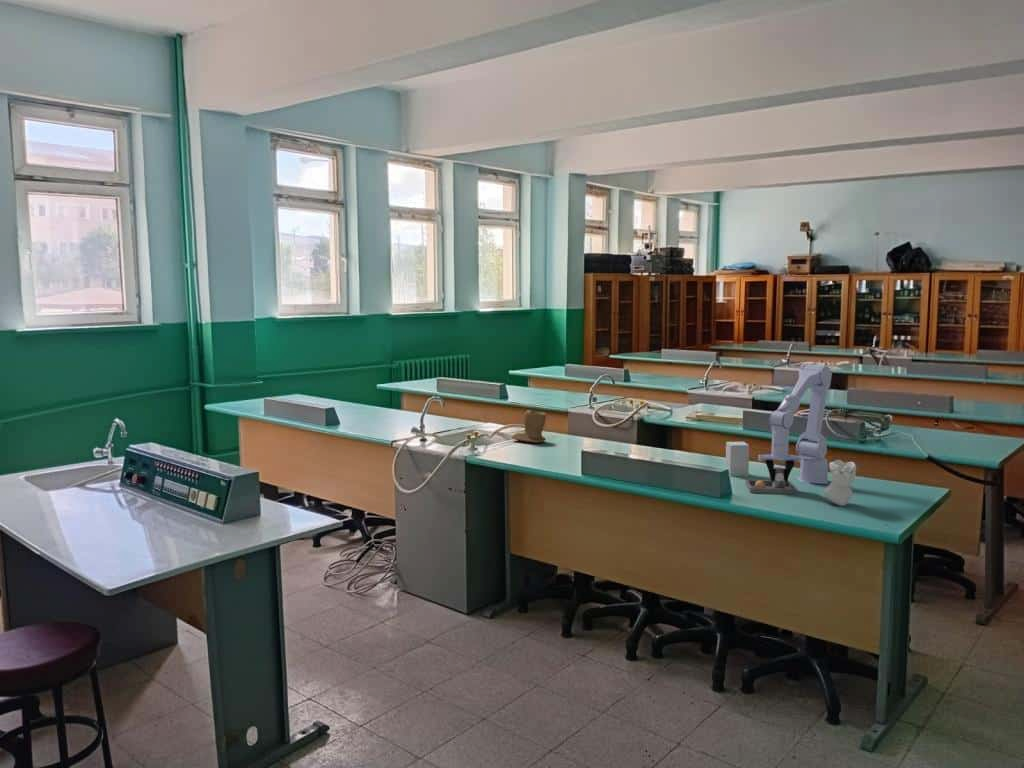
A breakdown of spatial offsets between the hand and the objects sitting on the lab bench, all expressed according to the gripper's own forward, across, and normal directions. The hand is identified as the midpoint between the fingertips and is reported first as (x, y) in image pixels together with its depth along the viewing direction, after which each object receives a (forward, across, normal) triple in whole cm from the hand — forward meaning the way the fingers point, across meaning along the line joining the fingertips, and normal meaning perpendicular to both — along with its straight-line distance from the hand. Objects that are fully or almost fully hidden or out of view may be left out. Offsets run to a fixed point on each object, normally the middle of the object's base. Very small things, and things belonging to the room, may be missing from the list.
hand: (778, 480), depth 286 cm
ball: (+3, -7, -3) cm, 8 cm away
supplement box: (+4, -12, +21) cm, 24 cm away
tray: (+3, -3, -1) cm, 5 cm away
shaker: (+3, 0, 0) cm, 3 cm away
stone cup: (+4, -100, +77) cm, 126 cm away
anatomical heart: (+4, +17, -18) cm, 25 cm away
